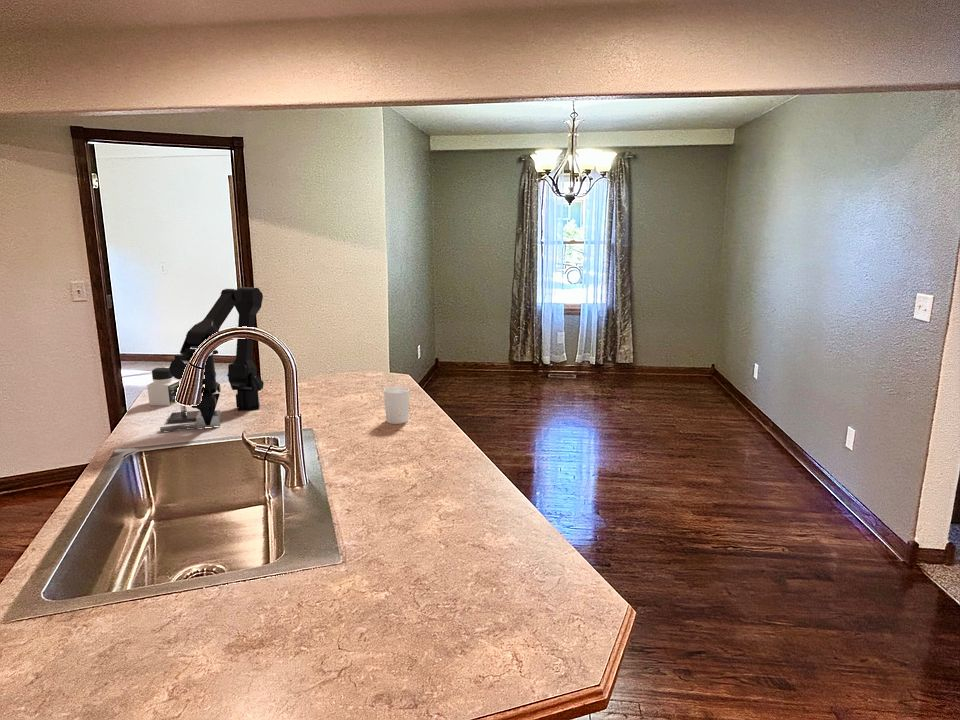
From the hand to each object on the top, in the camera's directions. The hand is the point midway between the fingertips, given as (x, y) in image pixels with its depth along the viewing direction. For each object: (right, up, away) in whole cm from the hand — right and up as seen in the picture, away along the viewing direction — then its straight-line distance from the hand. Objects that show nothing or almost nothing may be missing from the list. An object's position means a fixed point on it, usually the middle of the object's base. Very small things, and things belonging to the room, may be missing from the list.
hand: (209, 422), depth 180 cm
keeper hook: (-11, 0, +7) cm, 12 cm away
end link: (0, -1, 0) cm, 1 cm away
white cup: (+56, 0, +6) cm, 56 cm away
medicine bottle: (-25, +4, +23) cm, 34 cm away
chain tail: (-7, -2, -3) cm, 8 cm away
